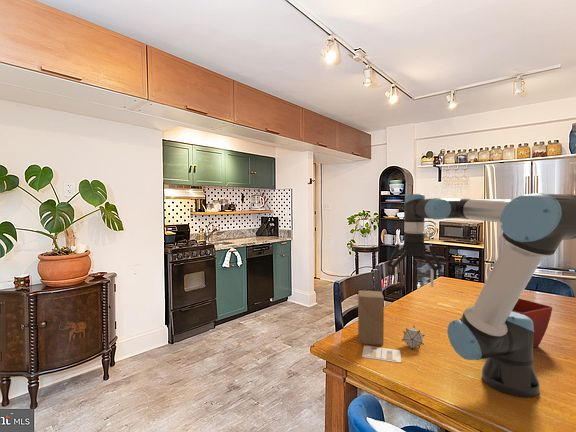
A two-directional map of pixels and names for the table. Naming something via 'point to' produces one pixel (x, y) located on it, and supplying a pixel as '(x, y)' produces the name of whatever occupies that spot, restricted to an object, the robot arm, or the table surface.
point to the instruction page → (382, 354)
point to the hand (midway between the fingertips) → (413, 284)
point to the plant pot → (535, 317)
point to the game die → (413, 337)
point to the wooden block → (370, 317)
